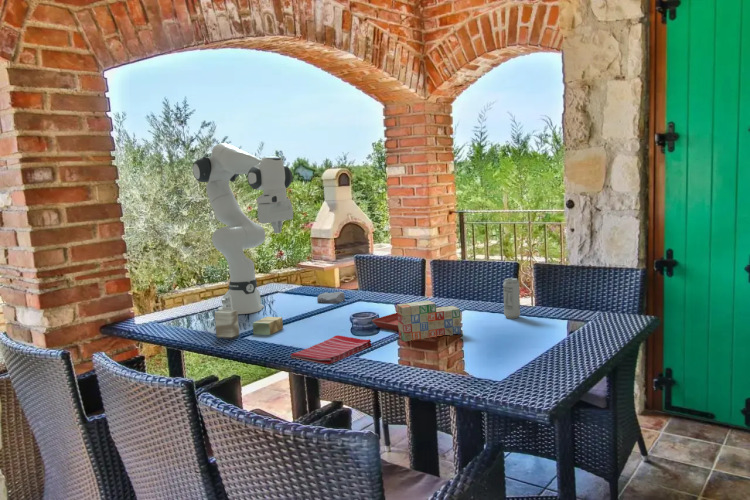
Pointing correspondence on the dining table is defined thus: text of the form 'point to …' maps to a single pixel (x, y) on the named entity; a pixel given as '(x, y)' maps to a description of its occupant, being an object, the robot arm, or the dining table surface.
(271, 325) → the oak block
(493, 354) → the dining table surface
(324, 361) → the dish towel
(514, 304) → the energy drink can
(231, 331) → the pine block
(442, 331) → the stack of blocks
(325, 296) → the stone block
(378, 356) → the dining table surface
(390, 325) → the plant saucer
